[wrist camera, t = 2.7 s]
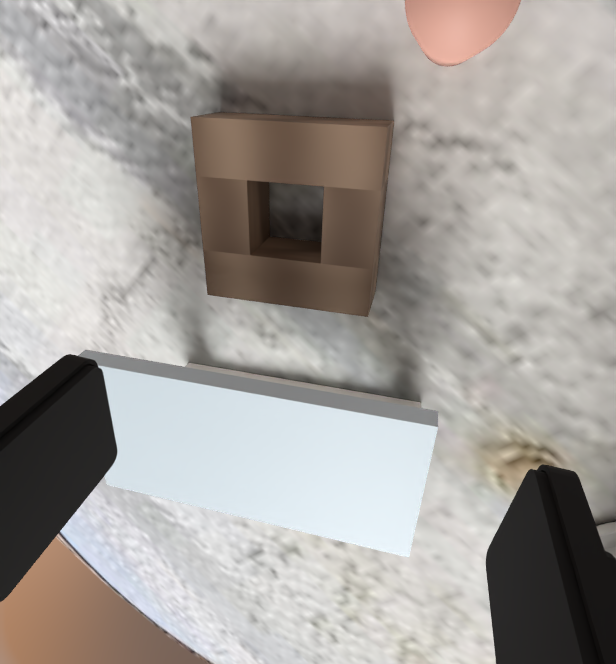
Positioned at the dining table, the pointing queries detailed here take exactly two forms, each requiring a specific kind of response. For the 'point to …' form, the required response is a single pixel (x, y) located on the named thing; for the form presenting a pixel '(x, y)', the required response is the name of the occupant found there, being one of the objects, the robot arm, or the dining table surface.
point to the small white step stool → (271, 449)
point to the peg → (458, 26)
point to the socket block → (254, 217)
